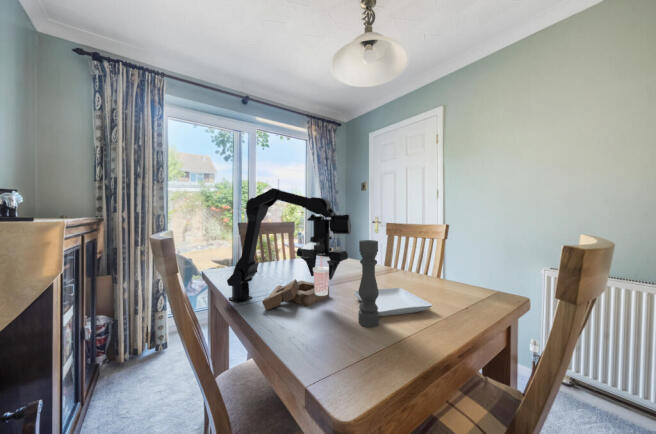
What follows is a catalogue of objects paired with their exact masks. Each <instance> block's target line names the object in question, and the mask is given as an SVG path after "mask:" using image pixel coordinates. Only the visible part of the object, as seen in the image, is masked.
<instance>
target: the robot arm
mask: <svg viewBox="0 0 656 434" xmlns="http://www.w3.org/2000/svg"><path fill="white" fill-rule="evenodd" d="M278 201H280V202H284V203H287V204H292V205H295V206H298V207H302V208H303V209H306V210H308V211H309V212H311V213H312V214H311V215H310V216H309V217H308V218H307V221H308V222H309V221H310V222H312V223H313V225H312V227H313V228H312V229H313V230H312V233H313V234H312V236H311V237H310V240H309V241H310V242H308V243H306V244H304V245H303V246H302V247H298V248H297V250H296V256H297V257H300V259H301V260H303V261H304V262H305V263H306V266H307V267H308V268H307V269H308V271H309V273H310V274H309V275H310V276H311V277H314V271H313V268H314V267H316V262H317V256H318V257H321V256H322V257H325V258H328V259H329V260H327V261H326V262H327V264H328V267H329V281H330V280H331V281H332V279H333V277H334V275H335V273H336V270H337V268H338V267H339V264H340V263H341V262H343V261H345V260H348V259H349V256H348V252H347V251H346V250H342V249H341V250H340V249H336V250H332V247H330V240H332V238H333V237H332V236H330V232H331V233H332V234H333V235H351V233H352V223H351V215H350V214H340V215H339V214H336V213H335V211H334V209H332V203H331V202H330V200H329V199H328V198H323V197H314V196H313V197H312V196H303V195H300V194H296V193H292V192H288V191H284V190H282V189H279V188H270V189H268V190H267V191H265V192H263V193H260V194H259V195H256V196H255V197H251V198H249V199H248V200H247V201H246V205H245V206H246V207H245V214H246V218H247V224H246V225H247V226H246V230H245V234H244V235H245V236H244V241H243V246H242V251H241V254H240V255H241V256H240V257H239V259H238V260H237V262H236V264H235V266H234V268H233V273H232V274H231V276H230V277H229V278H228V279H226V282H227V285H228V287H231V297H228V300H229V301H232V302H235V303H242V302H244V301H247V300H250V299H252V298H253V296H252V295H250V283H249V282H251V281H253V278H254V277H255V275H256V274H257V273H258V267H259V264H260V263H259V262H257V261H256V260H255V255H256V250H257V246H258V242H259V241H258V240H259V235H260V229H261V226H262V225H261V224H262V222H263V220H264V219H265V218H266V216H267V213H268V211H269V208H271V207H272V206H274V205H275V204H276V203H277V202H278ZM326 218H328V219H326ZM329 218H330V219H329Z"/></svg>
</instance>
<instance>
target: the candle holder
mask: <svg viewBox="0 0 656 434" xmlns="http://www.w3.org/2000/svg"><path fill="white" fill-rule="evenodd" d="M358 244H359V245H358V247H359V249H358V252H359V253H360V256H361V259H360V260H359V263H360V264H361V267H362V268H361V273H362V274H361V279H360V283H359V287H358V291H359V296H360V298H361V302H360V304H359V308H358V312H357V313H358V318H357V319H358V324H359V326H361V327H365V328H375V327H378V325H380V323H379V321H380V318H379V317H380V316H379V312H378V311H377V310H378V306H377V305H376V303H375V302H376V299H377V297H378V295H379V291H378V289H379V288H378V283H377V278H376V265H377V264H378V260H376V258H377V255H378V252H379V241H378V240H373V239H365V240H363V239H362V240H361V239H360V240H359V243H358Z"/></svg>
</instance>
